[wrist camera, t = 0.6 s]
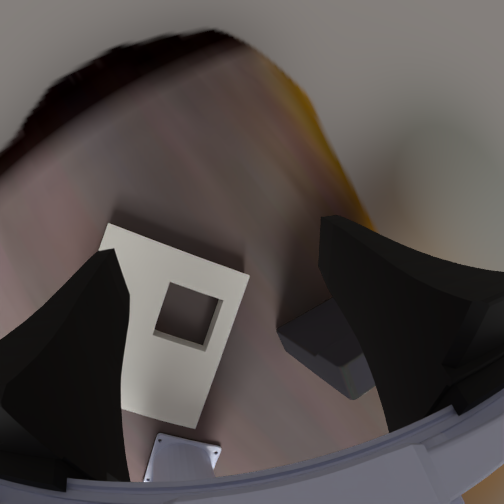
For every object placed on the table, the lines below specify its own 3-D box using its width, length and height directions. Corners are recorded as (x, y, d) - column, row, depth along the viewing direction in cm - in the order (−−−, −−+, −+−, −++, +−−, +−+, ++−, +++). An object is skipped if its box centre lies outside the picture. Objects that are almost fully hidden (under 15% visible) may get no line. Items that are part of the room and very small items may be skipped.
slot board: (193, 418, 33) (195, 429, 31) (69, 378, 29) (63, 386, 27) (244, 274, 35) (250, 275, 32) (112, 225, 31) (108, 222, 29)
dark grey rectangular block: (286, 355, 36) (355, 409, 21) (272, 324, 35) (339, 367, 21) (360, 311, 38) (447, 335, 24) (349, 281, 38) (438, 294, 24)
